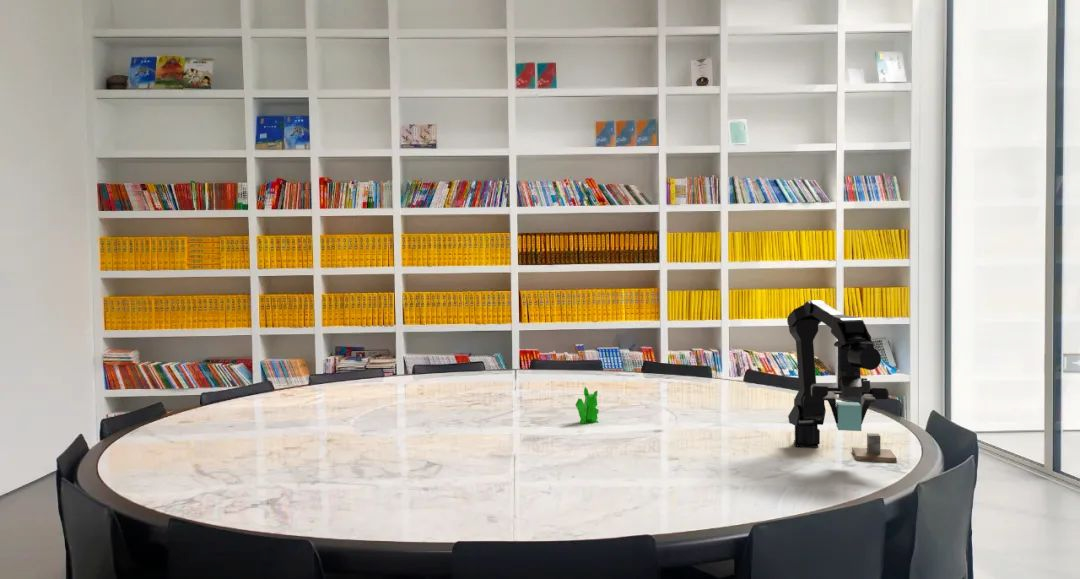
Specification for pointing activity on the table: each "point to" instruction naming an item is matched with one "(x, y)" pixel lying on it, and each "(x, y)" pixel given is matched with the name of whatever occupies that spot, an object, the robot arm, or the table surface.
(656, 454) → the table surface
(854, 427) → the teal block
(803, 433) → the robot arm
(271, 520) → the table surface
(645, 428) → the table surface
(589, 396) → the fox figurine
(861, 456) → the post board
